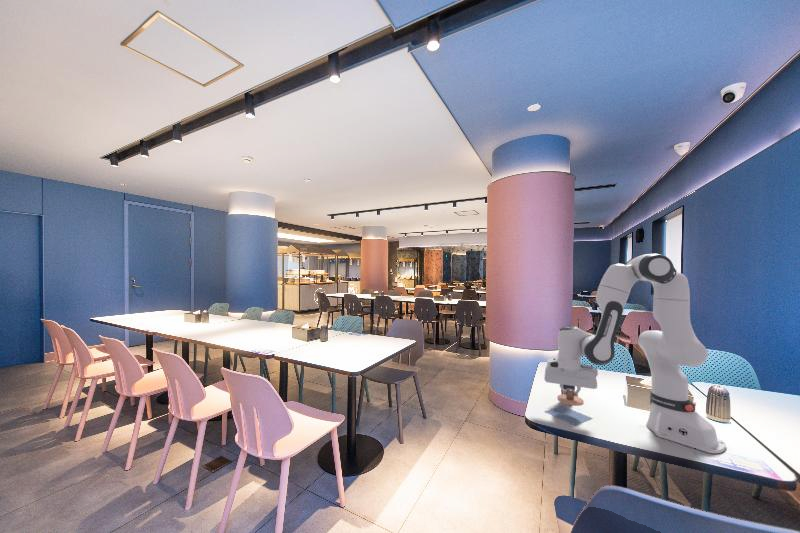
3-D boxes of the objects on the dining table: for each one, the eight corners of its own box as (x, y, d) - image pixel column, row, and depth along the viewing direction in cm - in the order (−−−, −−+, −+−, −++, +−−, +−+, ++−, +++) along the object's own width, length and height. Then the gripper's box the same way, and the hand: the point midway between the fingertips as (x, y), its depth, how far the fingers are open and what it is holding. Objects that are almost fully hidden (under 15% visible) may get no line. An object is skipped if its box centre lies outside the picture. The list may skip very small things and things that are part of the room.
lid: (588, 402, 131) (588, 391, 131) (575, 407, 126) (575, 396, 126) (565, 394, 140) (565, 383, 140) (552, 399, 135) (552, 388, 135)
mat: (593, 419, 130) (593, 418, 130) (575, 426, 124) (575, 425, 124) (561, 406, 142) (561, 405, 142) (544, 412, 136) (544, 411, 136)
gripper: (596, 364, 131) (597, 396, 131) (544, 358, 141) (545, 388, 141) (598, 368, 126) (599, 402, 125) (543, 362, 135) (544, 393, 135)
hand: (570, 395), depth 133 cm, fingers closed on lid, 3 cm apart
